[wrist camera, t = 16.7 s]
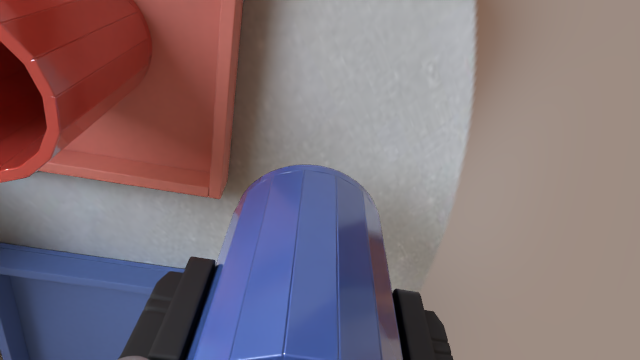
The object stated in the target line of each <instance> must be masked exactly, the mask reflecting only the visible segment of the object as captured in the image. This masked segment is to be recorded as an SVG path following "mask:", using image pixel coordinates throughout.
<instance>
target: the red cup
mask: <svg viewBox="0 0 640 360" xmlns="http://www.w3.org/2000/svg"><path fill="white" fill-rule="evenodd" d="M151 58H152V40H151V35H150V31H149V28H148V25H147V22H146V20H145V18H144V16H143V14H142V12H141V10H140V9H139V7H138V6H137V4H136V3H135V2H134V0H0V183H2V182H7V181H12V180H17V179H22V178H27V177H29V176H31V175H32V174H33V173H35V172H36V171H37V170H38V169H40V168H41V167H42V166H43V165H45V164H46V163H47V162H49V161H50V160H51V159H52V158H53V157H55V156H56V155H57V154H58V153H59V152H60V151H62V150H63V149H64V148H65V147H66V146H68V145H69V144H70V143H71V142H72V141H73V140H75V139H76V138H77V137H78V136H79V135H80V134H82V133H83V132H84V131H85V130H86V129H88V128H89V127H90V126H91V125H92V124H93V123H95V122H96V121H97V120H98V119H99V118H100V117H102V116H103V115H104V114H105V113H106V112H107V111H109V110H110V109H111V108H112V107H113V106H115V105H116V104H117V103H118V102H119V101H120V100H122V99H123V98H124V97H125V96H126V95H127V94H129V93H130V92H131V91H132V90H133V89H135V88H136V87H137V86H138V85H139V84H140V82H141V81H142V80H143V79H144V77H145V75H146V74H147V72H148V69H149V67H150V64H151Z"/></svg>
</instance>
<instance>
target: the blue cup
mask: <svg viewBox="0 0 640 360" xmlns="http://www.w3.org/2000/svg"><path fill="white" fill-rule="evenodd" d="M183 360H403V354H402V348H401V342H400V336H399V330H398V324H397V318H396V312H395V306H394V300H393V294H392V288H391V282H390V276H389V270H388V264H387V258H386V252H385V246H384V240H383V235H382V229H381V223H380V217H379V213H378V209H377V207H376V205H375V203H374V201H373V199H372V198H371V196H370V194H369V193H368V192H367V191H366V190H365V189H364V188H363V187H362V186H361V185H360V184H359V183H358V182H357V181H355V180H354V179H352V178H351V177H349V176H348V175H346V174H344V173H342V172H340V171H337V170H334V169H331V168H328V167H323V166H318V165H293V166H287V167H283V168H279V169H277V170H274V171H271V172H269V173H267V174H266V175H264V176H262V177H260V178H259V179H258V180H256V181H255V182H254V183H253V184H252V185H251V186H250V187H249V188H248V189H247V190H246V191H245V193H244V194H243V195H242V197H241V199H240V201H239V203H238V206H237V208H236V209H235V211H234V213H233V216H232V219H231V222H230V225H229V228H228V230H227V233H226V236H225V239H224V242H223V245H222V248H221V251H220V254H219V257H218V259H217V262H216V265H215V268H214V271H213V274H212V277H211V280H210V283H209V286H208V289H207V291H206V294H205V297H204V300H203V303H202V306H201V309H200V312H199V315H198V317H197V320H196V323H195V326H194V329H193V332H192V335H191V338H190V341H189V344H188V346H187V349H186V352H185V355H184V358H183Z"/></svg>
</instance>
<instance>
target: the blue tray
mask: <svg viewBox="0 0 640 360" xmlns="http://www.w3.org/2000/svg"><path fill="white" fill-rule="evenodd" d="M184 270H185V269H180V268H173V267H166V266H159V265H152V264H145V263H138V262H131V261H124V260H117V259H110V258H103V257H96V256H89V255H82V254H75V253H68V252H61V251H54V250H46V249H39V248H32V247H25V246H18V245H11V244H4V243H0V351H1V355H2V358H3V360H117V359H118V358H119V357H120V355H121V354H122V352H123V350H124V348H125V346H126V344H127V342H128V340H129V338H130V336H131V334H132V332H133V329H134V327H135V325H136V323H137V321H138V319H139V317H140V315H141V313H142V311H143V310H144V307H145V305H146V303H147V301H148V299H149V298H150V295H151V293H152V291H153V289H154V287H155V285H156V283H157V281H159V280H160V279H161V278H162V277H163V276H164V275H166V274H167V273H168V272H169V271H174V272H181V273H184Z"/></svg>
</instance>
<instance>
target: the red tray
mask: <svg viewBox="0 0 640 360" xmlns="http://www.w3.org/2000/svg"><path fill="white" fill-rule="evenodd" d="M134 2H135V3H136V4H137V6H138V7H139V9H140V10H141V12H142V14H143V16H144V18H145V20H146V22H147V25H148V28H149V31H150V35H151V40H152V58H151V64H150V67H149V69H148V72H147V74H146V75H145V77H144V79H143V80H142V81H141V82H140V84H139V85H138V86H137V87H136V88H135V89H133V90H132V91H131V92H130V93H129V94H127V95H126V96H125V97H124V98H123V99H122V100H120V101H119V102H118V103H117V104H116V105H115V106H113V107H112V108H111V109H110V110H109V111H107V112H106V113H105V114H104V115H103V116H102V117H100V118H99V119H98V120H97V121H96V122H95V123H93V124H92V125H91V126H90V127H89V128H88V129H86V130H85V131H84V132H83V133H82V134H80V135H79V136H78V137H77V138H76V139H75V140H73V141H72V142H71V143H70V144H69V145H68V146H66V147H65V148H64V149H63V150H62V151H60V152H59V153H58V154H57V155H56V156H55V157H53V158H52V159H51V160H50V161H49V162H47V163H46V164H45V165H43V166H42V167H41V168H40V169H38V170H37V171H43V172H49V173H55V174H62V175H68V176H75V177H81V178H87V179H94V180H100V181H107V182H113V183H119V184H126V185H132V186H139V187H145V188H151V189H158V190H164V191H171V192H177V193H183V194H190V195H196V196H203V197H208V196H209V197H210V198H215V199H220V198H221V196H222V193H223V191H224V188H225V186H226V183H227V181H228V170H229V159H230V147H231V135H232V124H233V112H234V101H235V89H236V78H237V66H238V55H239V43H240V31H241V20H242V8H243V0H134Z"/></svg>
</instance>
